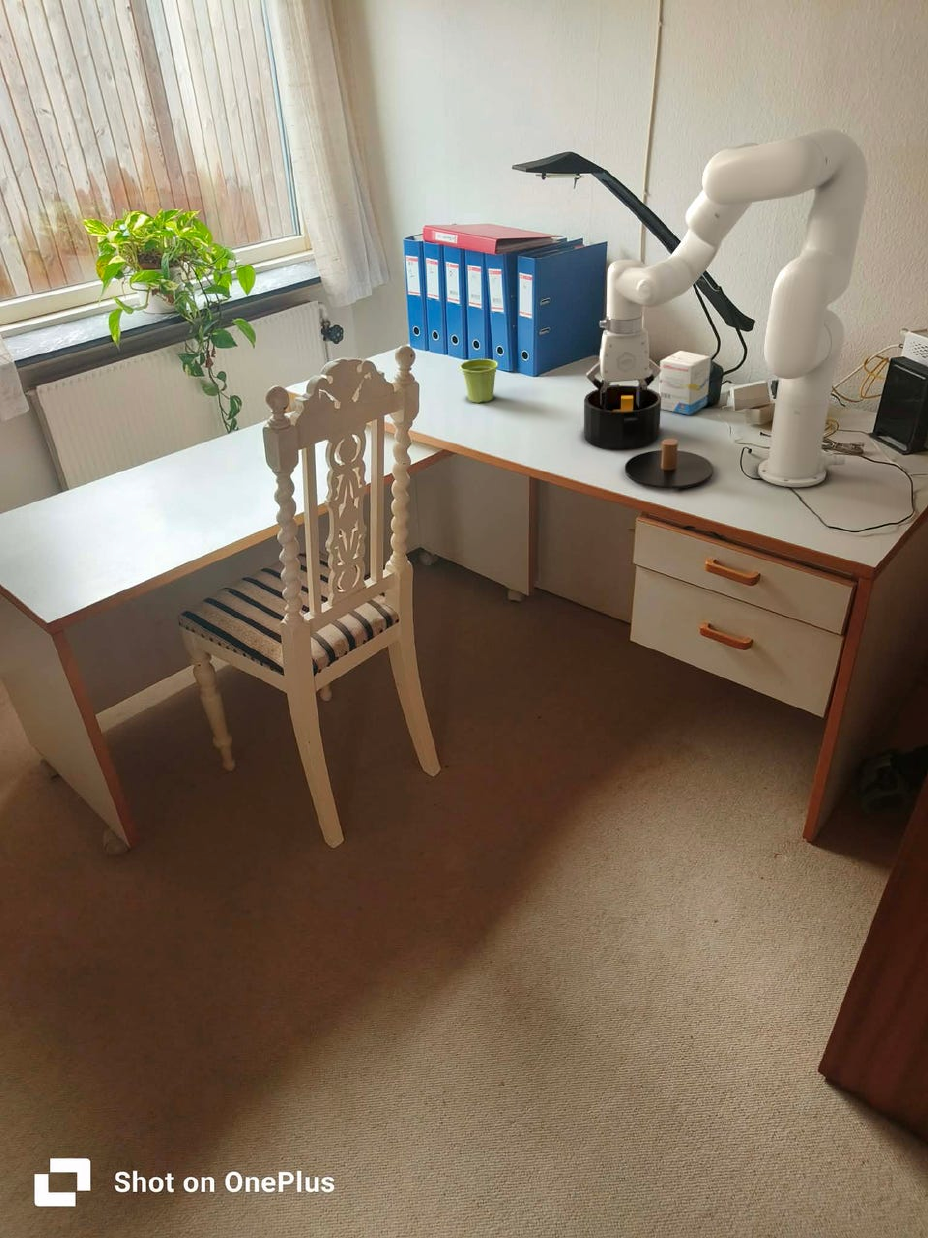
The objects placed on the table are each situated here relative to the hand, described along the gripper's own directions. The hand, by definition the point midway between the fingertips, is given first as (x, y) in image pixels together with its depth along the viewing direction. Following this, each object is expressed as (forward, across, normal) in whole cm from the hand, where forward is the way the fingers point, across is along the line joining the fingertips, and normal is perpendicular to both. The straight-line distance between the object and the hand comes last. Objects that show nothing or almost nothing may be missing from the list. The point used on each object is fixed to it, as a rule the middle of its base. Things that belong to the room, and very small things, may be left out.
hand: (622, 406), depth 191 cm
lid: (+6, +6, -21) cm, 23 cm away
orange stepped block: (+6, 0, 0) cm, 6 cm away
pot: (+7, 0, 0) cm, 7 cm away
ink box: (+7, +17, +14) cm, 23 cm away
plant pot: (+7, -30, +30) cm, 43 cm away
